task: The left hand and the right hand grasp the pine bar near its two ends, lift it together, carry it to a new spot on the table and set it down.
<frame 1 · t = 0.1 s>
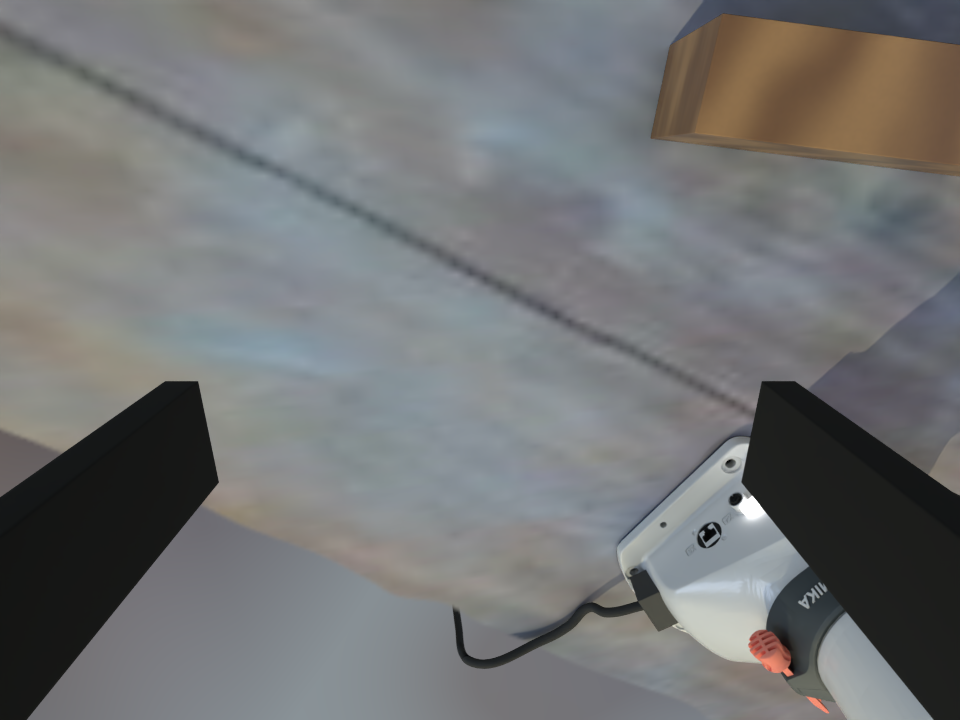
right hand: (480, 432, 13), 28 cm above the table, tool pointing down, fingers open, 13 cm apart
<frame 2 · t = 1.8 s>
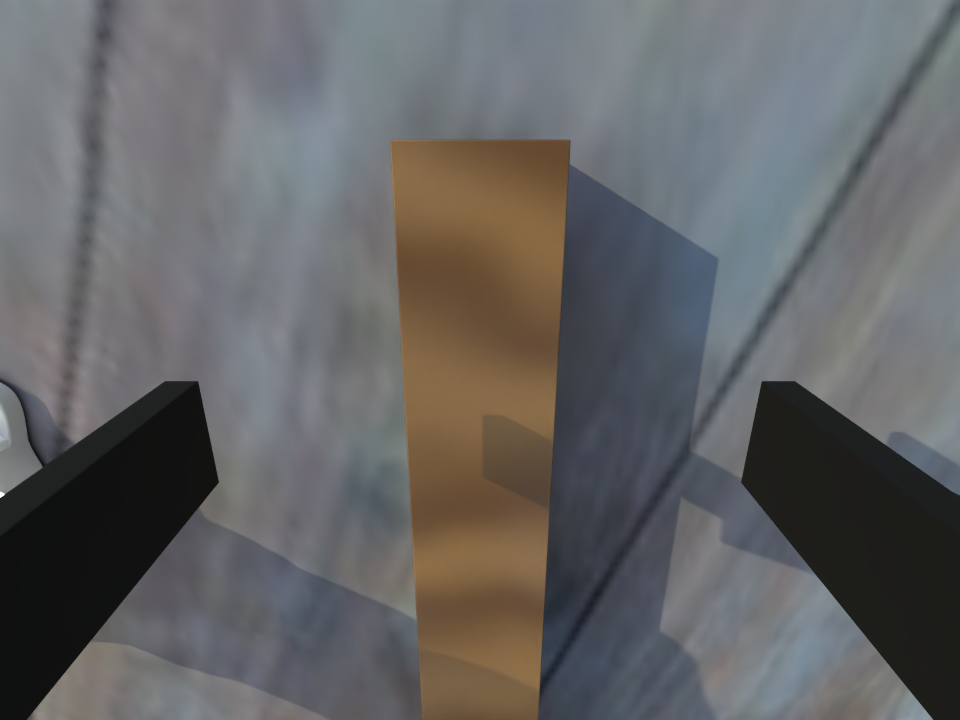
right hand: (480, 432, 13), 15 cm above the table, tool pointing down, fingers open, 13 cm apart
bar: (480, 604, 33), on the table
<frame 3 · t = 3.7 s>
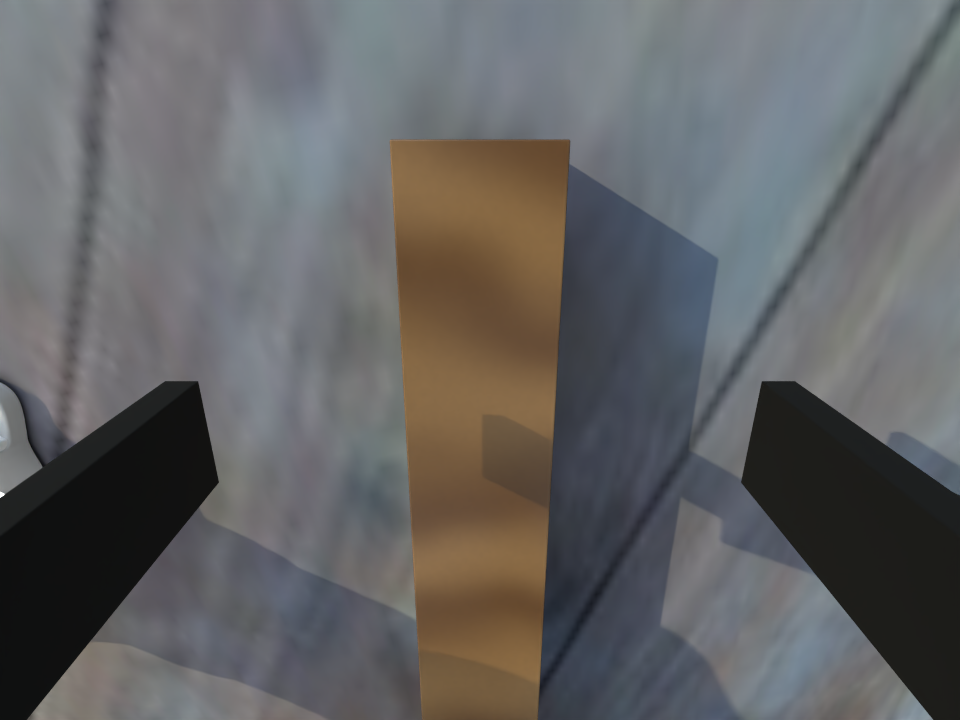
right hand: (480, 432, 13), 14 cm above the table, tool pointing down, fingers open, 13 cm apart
bar: (479, 604, 33), on the table, touching left hand
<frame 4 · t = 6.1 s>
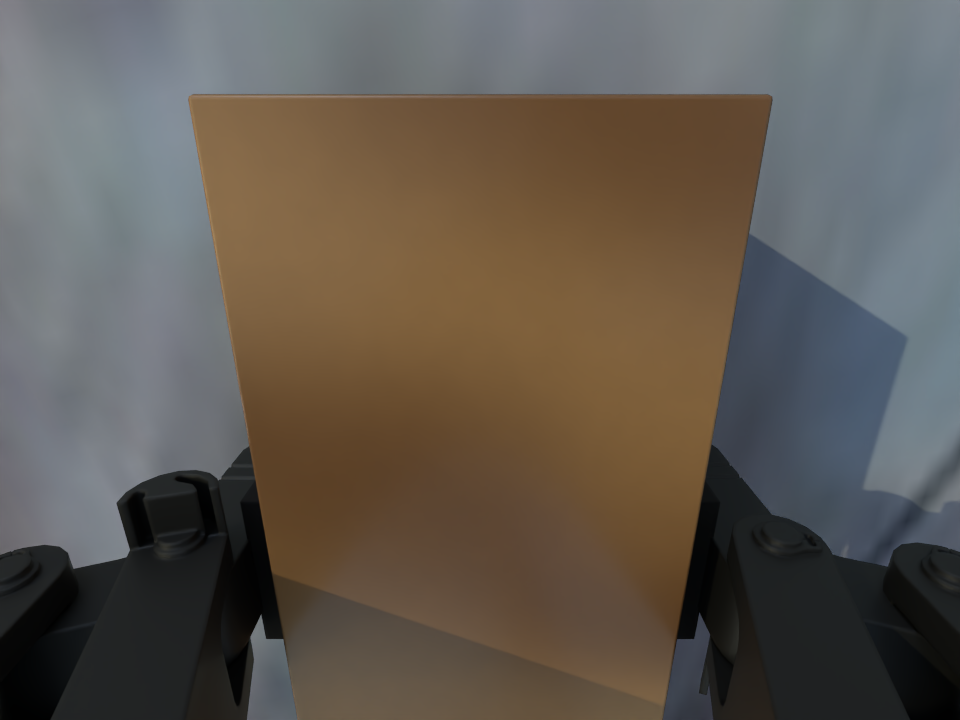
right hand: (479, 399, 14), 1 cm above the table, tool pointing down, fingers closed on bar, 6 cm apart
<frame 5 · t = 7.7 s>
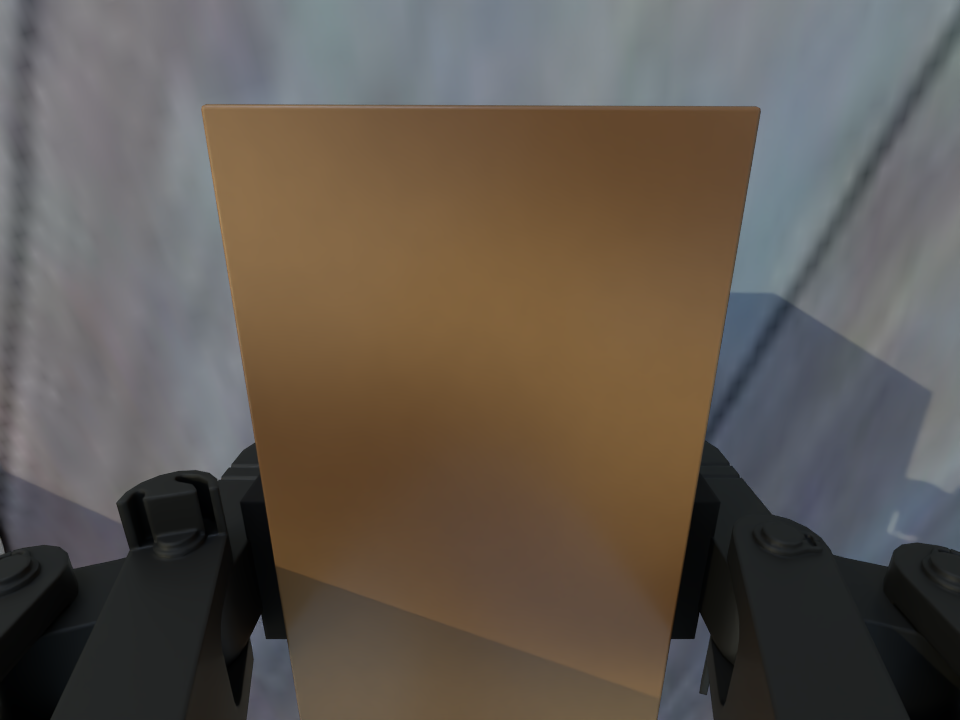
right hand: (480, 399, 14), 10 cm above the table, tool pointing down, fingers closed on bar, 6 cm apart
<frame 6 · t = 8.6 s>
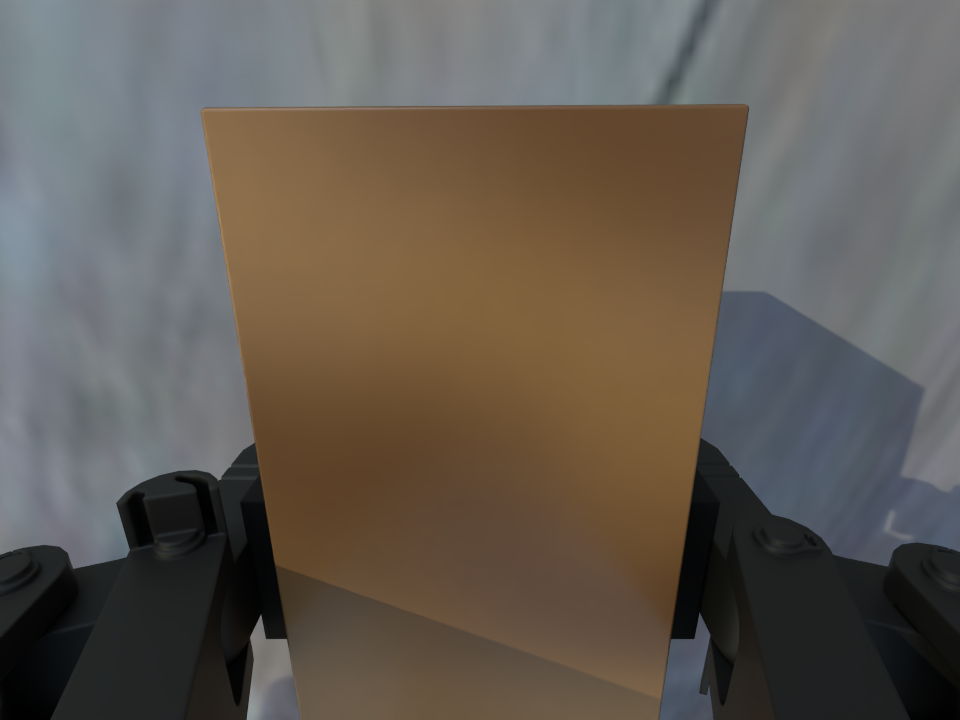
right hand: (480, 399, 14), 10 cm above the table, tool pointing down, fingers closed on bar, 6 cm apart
when the right hand's fingers open (2 cm above the table, at t = 11.4 s): bar stays where it is, held by the left hand.
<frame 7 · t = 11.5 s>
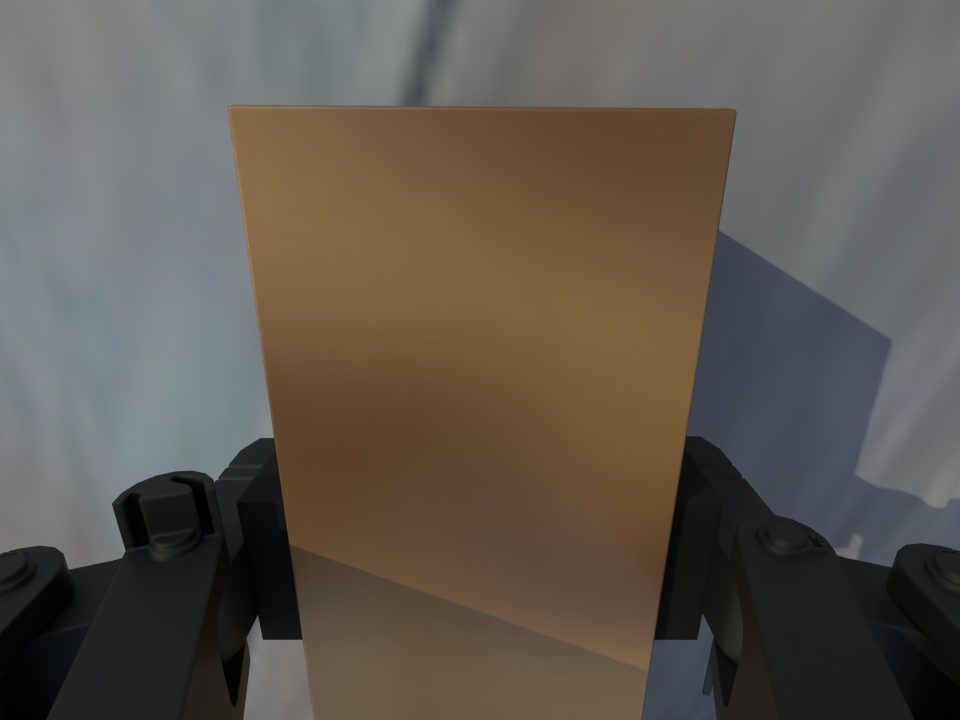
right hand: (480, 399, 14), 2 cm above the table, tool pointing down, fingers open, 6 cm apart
when the left hand's fingers open (4 cm above the table, at t = 11.7 s): bar stays where it is, on the table.
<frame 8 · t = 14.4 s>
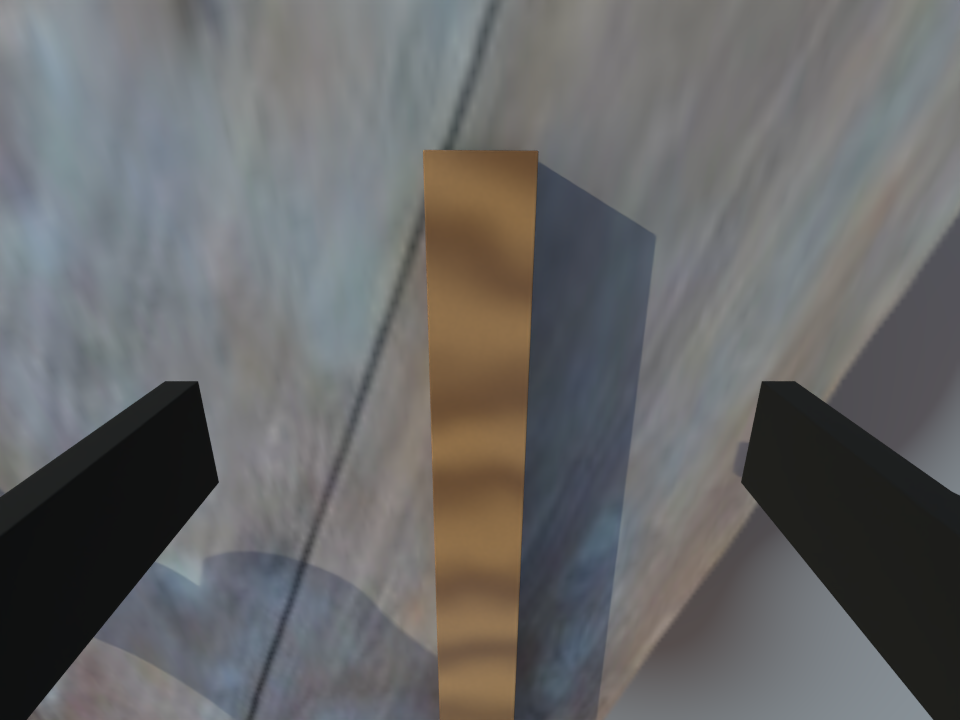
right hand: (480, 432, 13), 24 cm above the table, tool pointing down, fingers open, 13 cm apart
bar: (478, 509, 43), on the table
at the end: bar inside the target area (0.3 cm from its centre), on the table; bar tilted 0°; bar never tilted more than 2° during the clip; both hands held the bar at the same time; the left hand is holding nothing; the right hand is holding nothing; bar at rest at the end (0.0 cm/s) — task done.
